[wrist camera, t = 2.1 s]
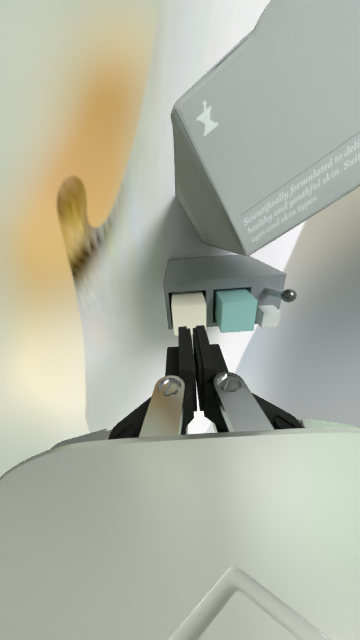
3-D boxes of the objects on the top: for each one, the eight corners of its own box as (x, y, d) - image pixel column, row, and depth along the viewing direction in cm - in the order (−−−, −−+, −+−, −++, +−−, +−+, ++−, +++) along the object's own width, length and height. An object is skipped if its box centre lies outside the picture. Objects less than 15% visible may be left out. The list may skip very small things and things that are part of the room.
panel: (168, 259, 24) (163, 282, 15) (245, 254, 24) (286, 274, 15) (171, 292, 26) (168, 329, 17) (242, 287, 26) (276, 322, 17)
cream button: (172, 291, 16) (171, 306, 14) (201, 289, 16) (206, 304, 14) (174, 317, 18) (174, 335, 15) (201, 315, 18) (206, 333, 15)
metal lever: (262, 285, 15) (286, 290, 12) (273, 284, 15) (300, 289, 12) (262, 296, 16) (285, 303, 12) (272, 295, 16) (298, 302, 12)
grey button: (257, 305, 16) (263, 313, 15) (273, 305, 16) (281, 312, 15) (255, 320, 17) (261, 327, 16) (270, 319, 17) (277, 326, 16)
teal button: (214, 288, 16) (222, 303, 14) (243, 286, 16) (257, 300, 14) (213, 314, 18) (221, 332, 15) (241, 313, 18) (253, 330, 15)
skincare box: (202, 243, 23) (243, 279, 9) (169, 185, 20) (154, 105, 6) (266, 199, 21) (449, 155, 7) (240, 126, 18) (463, -202, 4)
